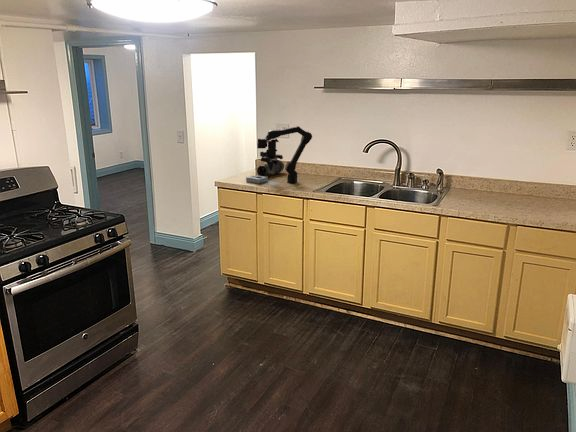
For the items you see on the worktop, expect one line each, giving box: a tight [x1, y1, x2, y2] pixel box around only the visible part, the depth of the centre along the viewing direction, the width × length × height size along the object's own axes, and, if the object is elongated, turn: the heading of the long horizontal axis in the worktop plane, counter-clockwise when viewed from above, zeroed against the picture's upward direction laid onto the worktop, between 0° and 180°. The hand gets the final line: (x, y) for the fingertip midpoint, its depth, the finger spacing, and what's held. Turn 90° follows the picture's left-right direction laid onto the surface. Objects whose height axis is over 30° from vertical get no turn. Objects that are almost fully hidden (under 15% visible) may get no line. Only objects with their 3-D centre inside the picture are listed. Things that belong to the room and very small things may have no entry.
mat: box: [262, 181, 280, 186], centre depth 340 cm, size 9×9×1 cm
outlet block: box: [245, 174, 269, 185], centre depth 344 cm, size 12×10×4 cm
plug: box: [268, 163, 276, 175], centre depth 337 cm, size 4×3×7 cm, turn 54°
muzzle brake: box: [256, 159, 285, 177], centre depth 369 cm, size 10×28×10 cm, turn 152°
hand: (271, 170), depth 338 cm, fingers closed on plug, 3 cm apart
